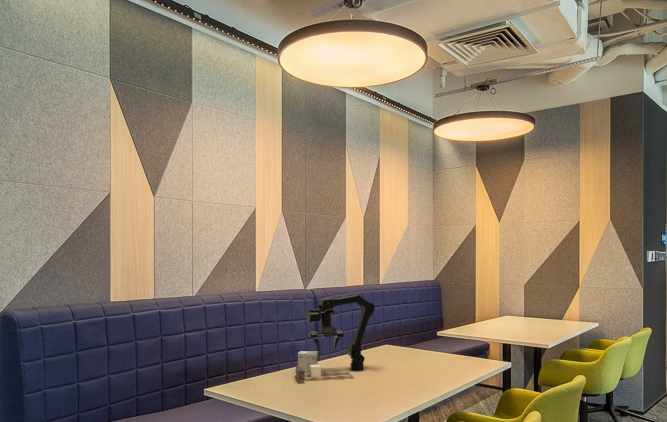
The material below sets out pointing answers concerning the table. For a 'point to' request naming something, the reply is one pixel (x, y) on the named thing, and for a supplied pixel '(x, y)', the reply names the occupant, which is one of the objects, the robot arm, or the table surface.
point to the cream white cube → (315, 370)
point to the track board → (303, 377)
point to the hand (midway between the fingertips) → (326, 350)
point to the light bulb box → (307, 359)
